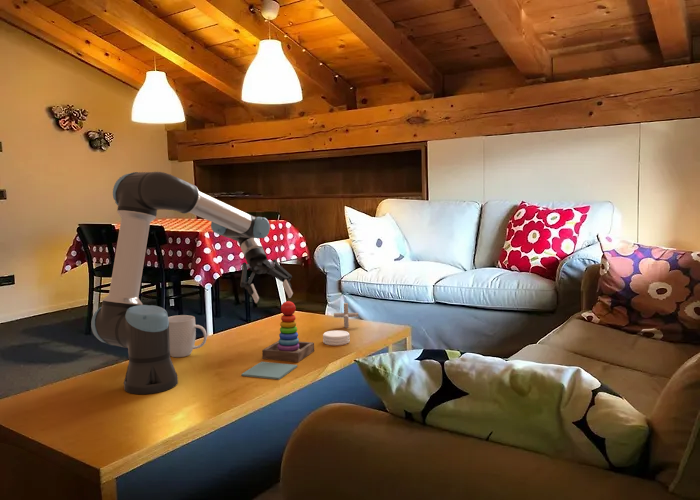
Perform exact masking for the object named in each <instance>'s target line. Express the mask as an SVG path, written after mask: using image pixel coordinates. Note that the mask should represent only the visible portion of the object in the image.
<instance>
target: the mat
mask: <svg viewBox="0 0 700 500" xmlns="http://www.w3.org/2000/svg"><path fill="white" fill-rule="evenodd" d="M297 368H298V364H290V363H282V362H281V363H279V362H271V361H269V362H268V361H260V362H259V363H256V364H255V365H253V366H252V367H250V368H249V369H247V370H245V371H244V372H242V373H241V377H251V378H258V379H260V378H261V379H267V380H269V379H270V380H281V379H283V378H284V377H285V376H286V375H288V374H289V373H291V372H292V371H294V370H295V369H297Z"/></svg>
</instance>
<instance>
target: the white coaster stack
mask: <svg viewBox="0 0 700 500" xmlns="http://www.w3.org/2000/svg"><path fill="white" fill-rule="evenodd" d="M350 335H351V334H350V333H349V332H348V331H346V330H337V329H335V330H328V331H325V332H324V333H323V334H322V342H323V344H324V345H327V346H343V345H347V344H349V343H350V341H351V340H350V338H351V337H350Z"/></svg>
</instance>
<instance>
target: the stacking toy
mask: <svg viewBox="0 0 700 500" xmlns="http://www.w3.org/2000/svg"><path fill="white" fill-rule="evenodd" d="M296 309H297V308H296V305H295V303H294V302H293V301H290V300H287V301H284V302H283V303H282V304H281V307H280V311H281V313H282V316H281V317H280V320H281V321H280V323H279V325H280V328H279V332H280V333H279V334H278V337H279V339H278V341H279V344H278V349H279V350H280V351H292V352H297V351H299V350H300V349H299V344H298V342H299V341H300V340H299V334H298V328H297V327H298V326H297V322H296V321H295V320H296V319H297V317H296V315H295V312H296Z"/></svg>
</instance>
